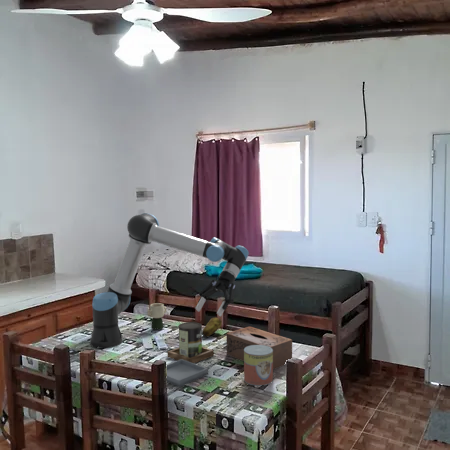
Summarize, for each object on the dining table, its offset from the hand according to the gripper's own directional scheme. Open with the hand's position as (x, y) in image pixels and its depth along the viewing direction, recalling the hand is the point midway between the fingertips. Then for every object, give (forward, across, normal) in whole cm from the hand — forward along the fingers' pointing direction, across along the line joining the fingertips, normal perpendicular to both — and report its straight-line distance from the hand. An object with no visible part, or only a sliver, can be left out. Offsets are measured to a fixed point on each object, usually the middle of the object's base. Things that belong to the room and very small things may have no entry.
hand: (207, 312), depth 216 cm
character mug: (+9, +42, -16) cm, 46 cm away
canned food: (+20, -38, -5) cm, 43 cm away
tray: (+32, -12, +7) cm, 35 cm away
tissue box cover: (+8, -24, -18) cm, 31 cm away
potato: (0, +14, -25) cm, 29 cm away
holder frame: (+20, 0, -5) cm, 21 cm away
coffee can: (+20, 0, -5) cm, 21 cm away
